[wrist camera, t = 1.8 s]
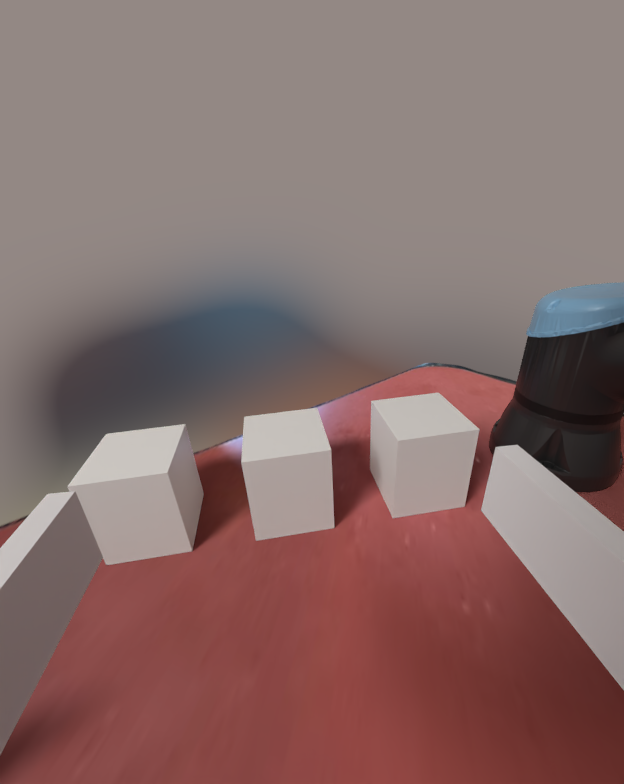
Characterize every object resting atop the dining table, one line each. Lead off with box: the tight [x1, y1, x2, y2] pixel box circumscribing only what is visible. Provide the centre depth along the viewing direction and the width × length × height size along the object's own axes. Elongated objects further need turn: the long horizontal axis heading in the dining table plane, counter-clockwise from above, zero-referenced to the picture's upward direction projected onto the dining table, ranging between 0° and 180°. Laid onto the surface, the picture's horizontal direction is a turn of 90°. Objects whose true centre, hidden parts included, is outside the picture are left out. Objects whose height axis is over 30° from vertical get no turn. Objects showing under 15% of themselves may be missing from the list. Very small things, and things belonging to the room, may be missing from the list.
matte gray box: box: [68, 424, 204, 565], centre depth 38 cm, size 9×9×11 cm
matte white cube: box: [370, 393, 480, 518], centre depth 41 cm, size 9×9×11 cm
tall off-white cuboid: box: [241, 408, 334, 541], centre depth 40 cm, size 9×9×11 cm
